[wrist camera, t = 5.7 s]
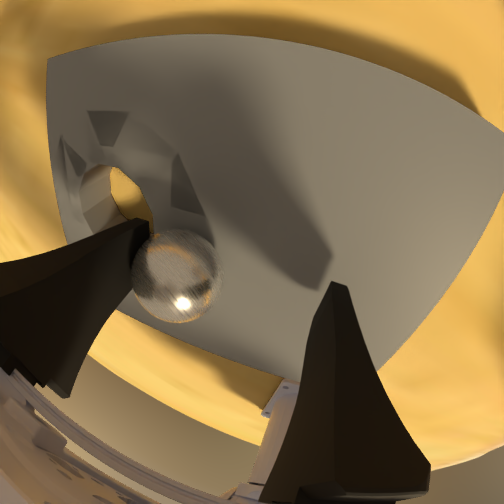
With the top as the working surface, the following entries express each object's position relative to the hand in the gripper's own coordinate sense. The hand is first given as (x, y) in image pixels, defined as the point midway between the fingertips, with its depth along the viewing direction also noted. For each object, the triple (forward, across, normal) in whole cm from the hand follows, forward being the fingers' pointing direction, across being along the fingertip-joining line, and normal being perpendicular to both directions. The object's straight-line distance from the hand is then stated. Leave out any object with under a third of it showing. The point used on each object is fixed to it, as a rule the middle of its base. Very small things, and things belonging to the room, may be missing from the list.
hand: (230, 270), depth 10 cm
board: (+3, +2, 0) cm, 4 cm away
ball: (-1, +2, 0) cm, 2 cm away
